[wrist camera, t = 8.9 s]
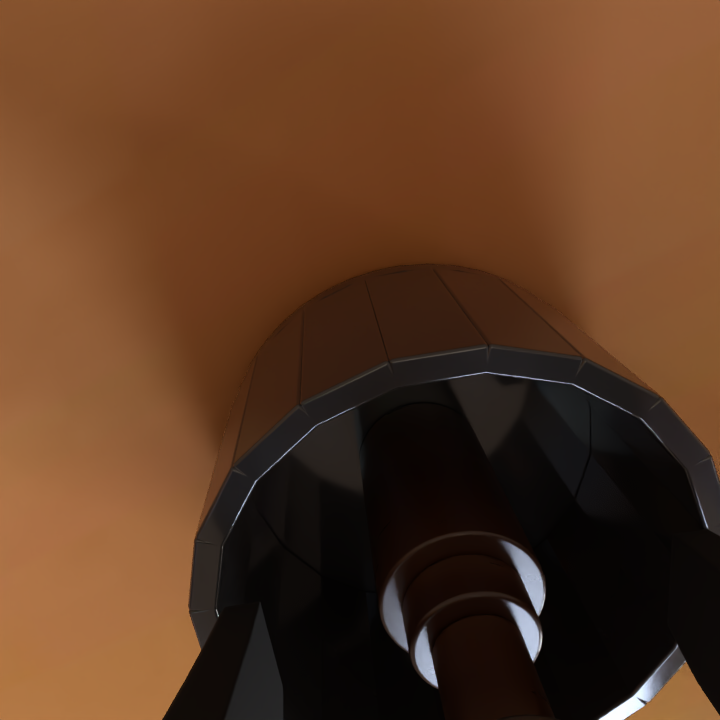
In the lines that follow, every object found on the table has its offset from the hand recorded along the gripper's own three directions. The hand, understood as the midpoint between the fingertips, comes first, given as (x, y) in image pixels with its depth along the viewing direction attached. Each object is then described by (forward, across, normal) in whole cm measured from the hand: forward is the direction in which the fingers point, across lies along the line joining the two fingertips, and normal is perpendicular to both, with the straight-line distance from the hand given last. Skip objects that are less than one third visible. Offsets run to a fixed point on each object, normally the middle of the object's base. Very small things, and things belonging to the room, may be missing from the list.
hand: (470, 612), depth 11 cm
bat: (+5, 0, 0) cm, 5 cm away
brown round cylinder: (+6, 0, 0) cm, 6 cm away
